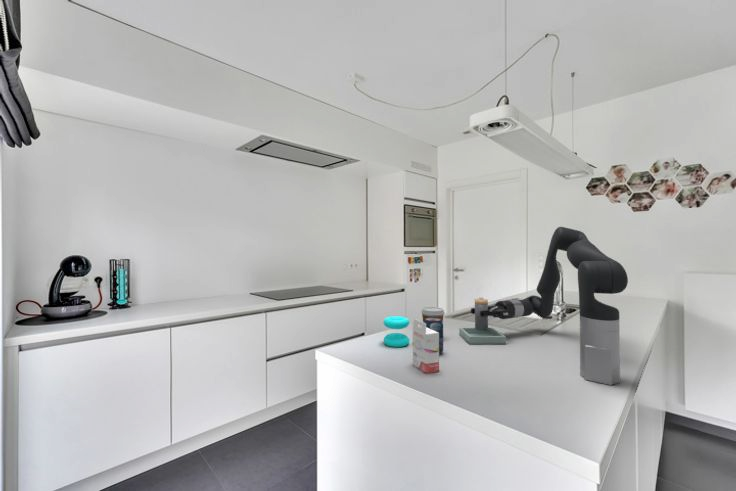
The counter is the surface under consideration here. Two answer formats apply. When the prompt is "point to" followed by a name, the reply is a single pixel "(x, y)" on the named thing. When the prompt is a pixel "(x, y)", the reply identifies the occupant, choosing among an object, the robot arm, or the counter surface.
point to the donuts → (396, 338)
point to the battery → (480, 322)
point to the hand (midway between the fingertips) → (476, 312)
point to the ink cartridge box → (425, 347)
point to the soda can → (436, 329)
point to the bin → (482, 336)
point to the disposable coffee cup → (432, 313)
